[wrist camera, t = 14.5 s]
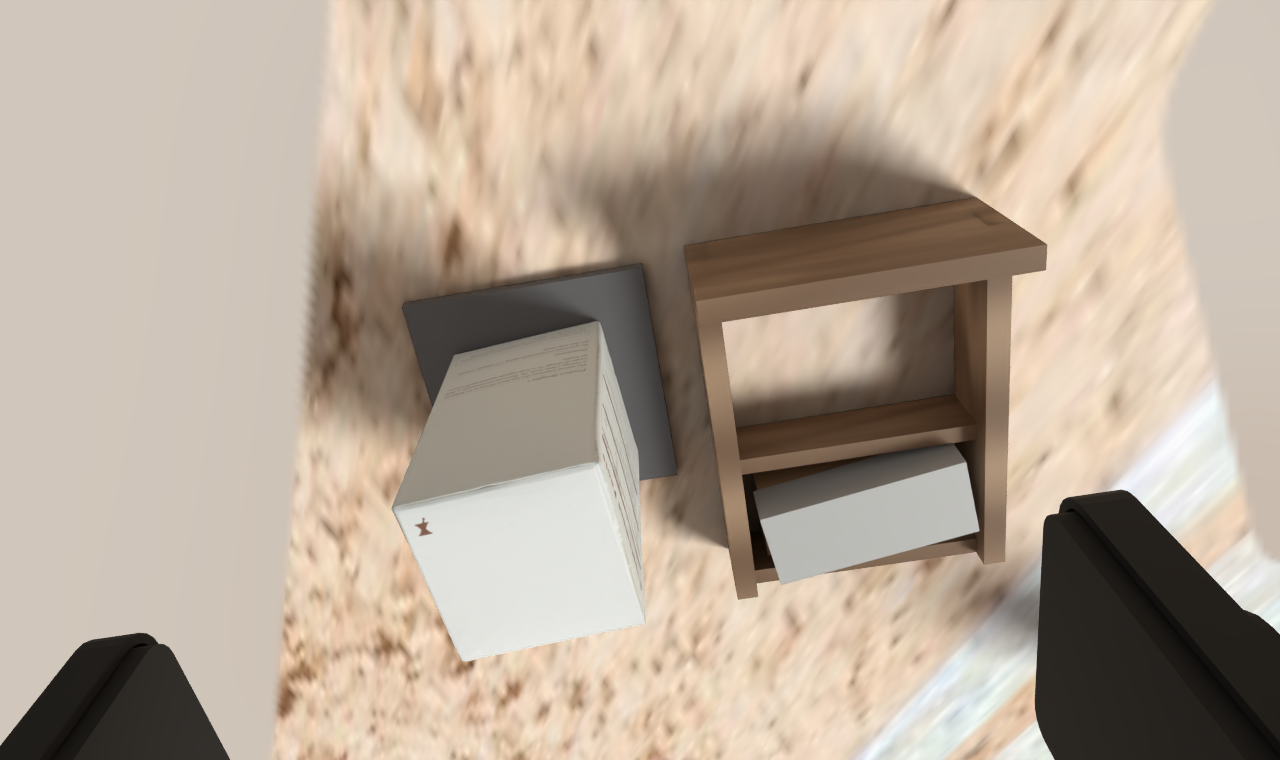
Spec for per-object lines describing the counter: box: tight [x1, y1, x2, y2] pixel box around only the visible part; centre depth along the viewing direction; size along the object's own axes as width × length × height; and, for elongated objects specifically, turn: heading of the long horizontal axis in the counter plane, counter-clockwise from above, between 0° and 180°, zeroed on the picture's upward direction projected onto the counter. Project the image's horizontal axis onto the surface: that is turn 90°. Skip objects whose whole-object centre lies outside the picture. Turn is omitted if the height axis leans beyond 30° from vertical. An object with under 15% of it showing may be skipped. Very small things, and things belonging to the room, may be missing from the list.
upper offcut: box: [753, 443, 980, 585], centre depth 41 cm, size 4×10×2 cm, turn 109°
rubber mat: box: [402, 264, 678, 481], centre depth 41 cm, size 11×11×1 cm
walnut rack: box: [684, 197, 1047, 600], centre depth 39 cm, size 17×13×7 cm
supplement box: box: [392, 321, 645, 661], centre depth 36 cm, size 7×7×13 cm
